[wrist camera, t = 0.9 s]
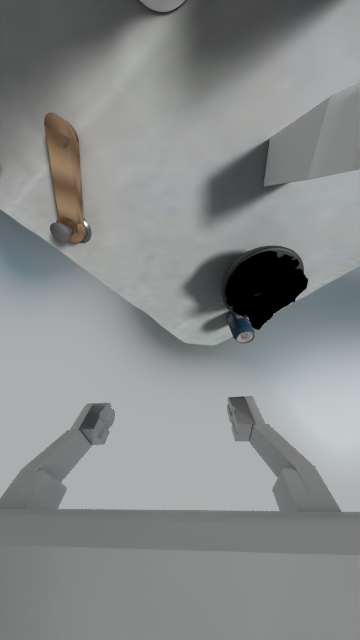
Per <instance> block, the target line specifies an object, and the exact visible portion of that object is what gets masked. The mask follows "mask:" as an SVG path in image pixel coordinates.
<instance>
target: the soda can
mask: <svg viewBox="0 0 360 640" xmlns="http://www.w3.org/2000/svg"><path fill="white" fill-rule="evenodd" d="M227 321H228V324H229V327H230V329H231V332H232V335H233V337H234V339H236V340H237V342H239V343H248V342H250V341H252V340H253V338H254V329H253V327H252V326H251V324H250V322H249V320H248V318H247V317H242V316H238V315H236V314H234V313H232V312H230V313H229V314H228V316H227Z"/></svg>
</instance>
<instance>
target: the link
mask: <svg viewBox="0 0 360 640" xmlns="http://www.w3.org/2000/svg"><path fill="white" fill-rule="evenodd" d="M44 125H45V132H46V138H47V145H48V151H49V158H50V164H51V171H52V177H53V184H54V190H55V197H56V203H57V210H58V216H59V218H58V219H57V222H56V223H52V224H51V226H50V230H51V233H52V235H53V236H54V237H55V238H56V239H57V240H59V241H61V242H67V241H69V242H72V243H77V242H80V241H82V240H84V239H86V237H87V234H88V232H87V228H86V226H85V224H84V218H83V202H82V186H81V170H80V154H79V140H78V136H77V134H76V132H75V130H74V128H73V127H72V126H71V125H70V124H69V123H68V122H67V121H65V120H64V119H62V118H61V117H59V116H58V115H56V114H54V113H48V114H47V115H46V116H45V120H44Z"/></svg>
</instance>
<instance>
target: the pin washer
mask: <svg viewBox="0 0 360 640" xmlns="http://www.w3.org/2000/svg"><path fill="white" fill-rule="evenodd" d="M84 224H85V226H86V228H87V232H88V234H87V237H86V239H84V240H82V241H80V242H79V243H85V242H88V241H89V240H90V238H91V229H90V226H89V224H88V223H87V221H86V220H85V219H84Z"/></svg>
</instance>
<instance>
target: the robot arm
mask: <svg viewBox="0 0 360 640" xmlns="http://www.w3.org/2000/svg"><path fill="white" fill-rule="evenodd" d="M140 1H141V2H142V3H143V4H144V5H145V6H147V7H148V8H150V9H152V10H155V11H159V12H167V11H171V10H173V9H175V8H177V7H178V6H180V5H181V4H182V3H183V2H184V1H185V0H140ZM227 410H228V416H229V420H230V422H231V423H232V431H233V435H234V439H235V441H250V443H251V445H252V446H253V447H254V448H255V450H256V451H257V452H258V454H259V455H260V456H261V457H262V459H263V460H264V461H265V462H266V463H267V465H268V466H269V467H270V468H271V470H272V471H273V472H274V474H275V475H276V476H277V477H278V479H277V481H276V483H275V485H274V487H273V489H272V490H273V493H274V495H275V499H276V501H277V504H278V506H279V510H280V511H208V510H207V511H206V510H205V511H204V510H201V511H200V510H106V509H58V507H59V505H60V503H61V500H62V498H63V496H64V494H65V492H66V487H65V486H64V485H63V484H62V483H61V482H62V480H63V479H64V478H65V477H66V476H67V475H68V473H69V472H70V471H71V470H72V469H73V467H74V466H75V465H76V464H77V463H78V461H79V460H80V459H81V458H82V457H83V456H84V454H85V453H86V452H87V451H88V450H89V448H90V447H91V446H92V445H99V444H105V441H106V439H107V436H108V434H109V428H110V426H111V425H112V424H113V421H114V417H115V412H114V410H113V409H112V408H111V404H110V403H91V404H87V405H86V406H85V407H84V408H83V410H82V411H81V413H80V415H79V416H78V418H77V419H76V421H75V423H74V424H73V426H72V427H71V429H70V430H67V431H66V432H65V433H64V434H63V435H62V436H60V437H59V438H58V439H57V440H56V441H55V442H54V443H52V444H51V445H50V446H49V447H47V448H46V449H45V450H44V451H43V452H42V453H40V454H39V455H38V456H37V457H36V458H35V459H34V460H32V461H31V462H30V463H29V464H27V465H26V466H25V467H24V468H23V469H22V470H21V471H20V472H19V474H18V475H17V476H16V478H15V479H14V480H13V482H12V483H11V484H10V486H9V487H8V489H7V490H6V492H5V493H4V494H3V496H2V497H1V498H0V640H360V512H341V510H340V508H339V507H338V505H337V503H336V501H335V500H334V498H333V496H332V495H331V493H330V491H329V490H328V488H327V486H326V485H325V483H324V481H323V480H322V478H321V476H320V475H319V473H318V471H317V470H316V468H315V467H314V466H313V465H312V464H311V463H310V462H309V461H308V460H307V459H305V458H304V457H303V456H302V455H301V454H300V453H299V452H298V451H297V450H296V449H295V448H294V447H293V446H291V445H290V444H289V443H288V442H287V441H286V440H285V439H284V438H283V437H281V435H279V434H278V433H277V432H276V431H275V430H274V429H273V428H272V427H271V426H270V425H269V424H265V422H264V420H263V418H262V415H261V413H260V411H259V409H258V407H257V405H256V402H255V400H254V398H253V397H252V396H248V397H229V398H228V405H227Z"/></svg>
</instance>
